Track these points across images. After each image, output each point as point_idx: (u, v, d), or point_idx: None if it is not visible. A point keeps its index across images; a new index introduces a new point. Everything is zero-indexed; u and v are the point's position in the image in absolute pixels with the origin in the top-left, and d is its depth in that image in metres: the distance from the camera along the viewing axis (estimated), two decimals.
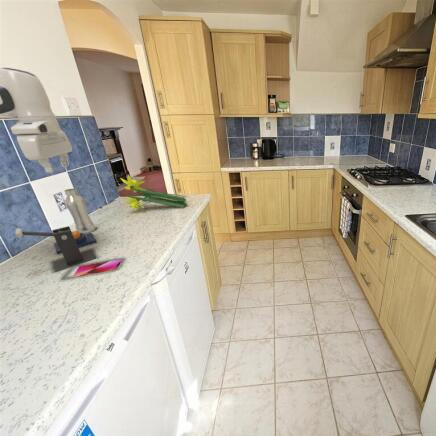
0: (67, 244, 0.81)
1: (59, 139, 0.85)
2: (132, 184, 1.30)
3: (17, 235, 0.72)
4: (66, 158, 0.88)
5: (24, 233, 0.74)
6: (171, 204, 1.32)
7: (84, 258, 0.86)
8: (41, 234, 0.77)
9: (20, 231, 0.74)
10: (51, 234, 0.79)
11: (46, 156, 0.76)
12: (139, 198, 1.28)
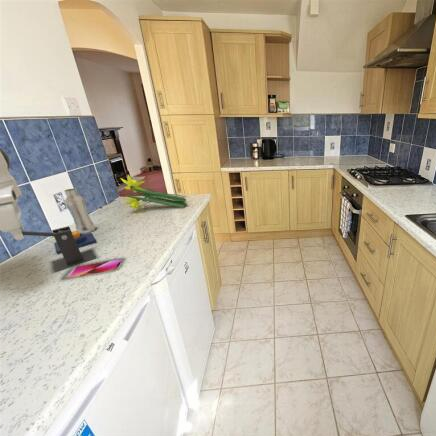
0: (67, 244, 0.81)
1: None
2: (132, 184, 1.30)
3: None
4: None
5: (24, 233, 0.74)
6: (171, 204, 1.32)
7: (84, 258, 0.86)
8: (41, 234, 0.77)
9: None
10: (51, 234, 0.79)
11: (20, 224, 0.69)
12: (139, 198, 1.28)
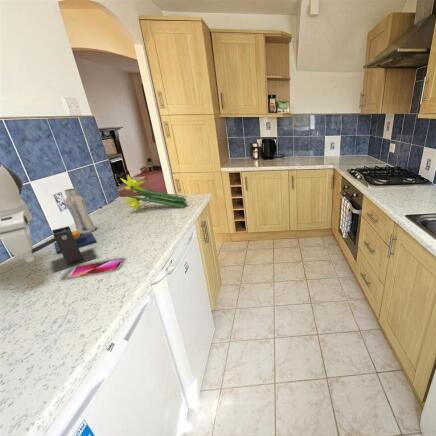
0: (67, 244, 0.81)
1: None
2: (132, 184, 1.30)
3: None
4: None
5: None
6: (171, 204, 1.32)
7: (84, 258, 0.86)
8: (45, 245, 0.79)
9: None
10: (53, 240, 0.80)
11: (31, 247, 0.72)
12: (139, 198, 1.28)
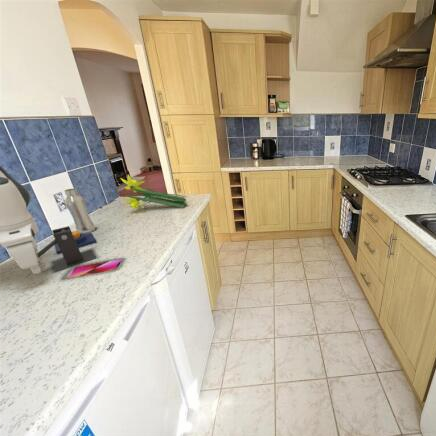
0: (67, 244, 0.81)
1: None
2: (132, 184, 1.30)
3: None
4: None
5: None
6: (171, 204, 1.32)
7: (84, 258, 0.86)
8: (49, 247, 0.79)
9: None
10: (55, 241, 0.80)
11: None
12: (139, 198, 1.28)
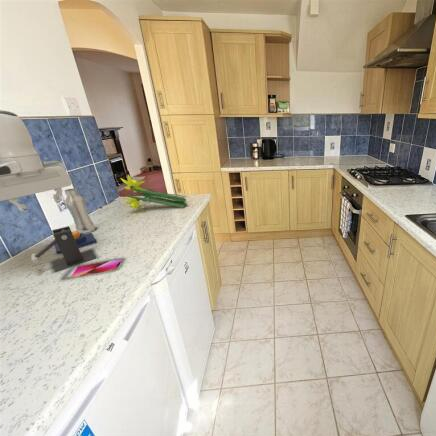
0: (67, 244, 0.81)
1: (49, 175, 0.82)
2: (132, 184, 1.30)
3: (34, 261, 0.76)
4: (59, 193, 0.86)
5: (37, 256, 0.78)
6: (171, 204, 1.32)
7: (84, 258, 0.86)
8: (49, 247, 0.79)
9: (33, 257, 0.77)
10: (55, 241, 0.80)
11: (9, 197, 0.74)
12: (139, 198, 1.28)
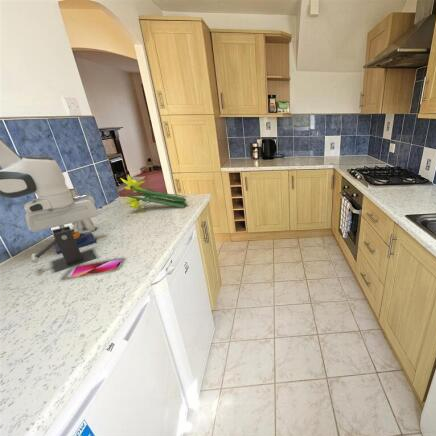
0: (67, 244, 0.81)
1: (78, 208, 0.93)
2: (132, 184, 1.30)
3: (34, 261, 0.76)
4: (74, 226, 0.94)
5: (37, 256, 0.78)
6: (171, 204, 1.32)
7: (84, 258, 0.86)
8: (49, 247, 0.79)
9: (33, 257, 0.77)
10: (55, 241, 0.80)
11: (42, 228, 0.87)
12: (139, 198, 1.28)
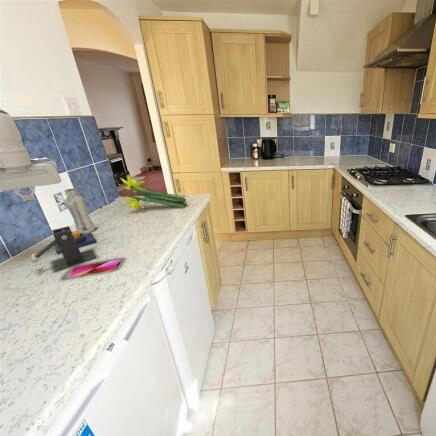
0: (67, 244, 0.81)
1: (36, 172, 0.84)
2: (132, 184, 1.30)
3: (34, 261, 0.76)
4: (32, 192, 0.85)
5: (37, 256, 0.78)
6: (171, 204, 1.32)
7: (84, 258, 0.86)
8: (49, 247, 0.79)
9: (33, 257, 0.77)
10: (55, 241, 0.80)
11: None
12: (139, 198, 1.28)
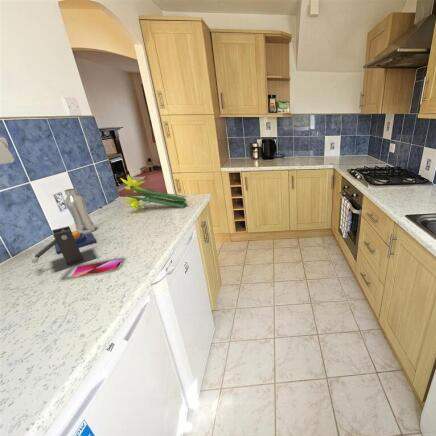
0: (67, 244, 0.81)
1: None
2: (132, 184, 1.30)
3: (34, 261, 0.76)
4: None
5: (37, 256, 0.78)
6: (171, 204, 1.32)
7: (84, 258, 0.86)
8: (49, 247, 0.79)
9: (33, 257, 0.77)
10: (55, 241, 0.80)
11: None
12: (139, 198, 1.28)
